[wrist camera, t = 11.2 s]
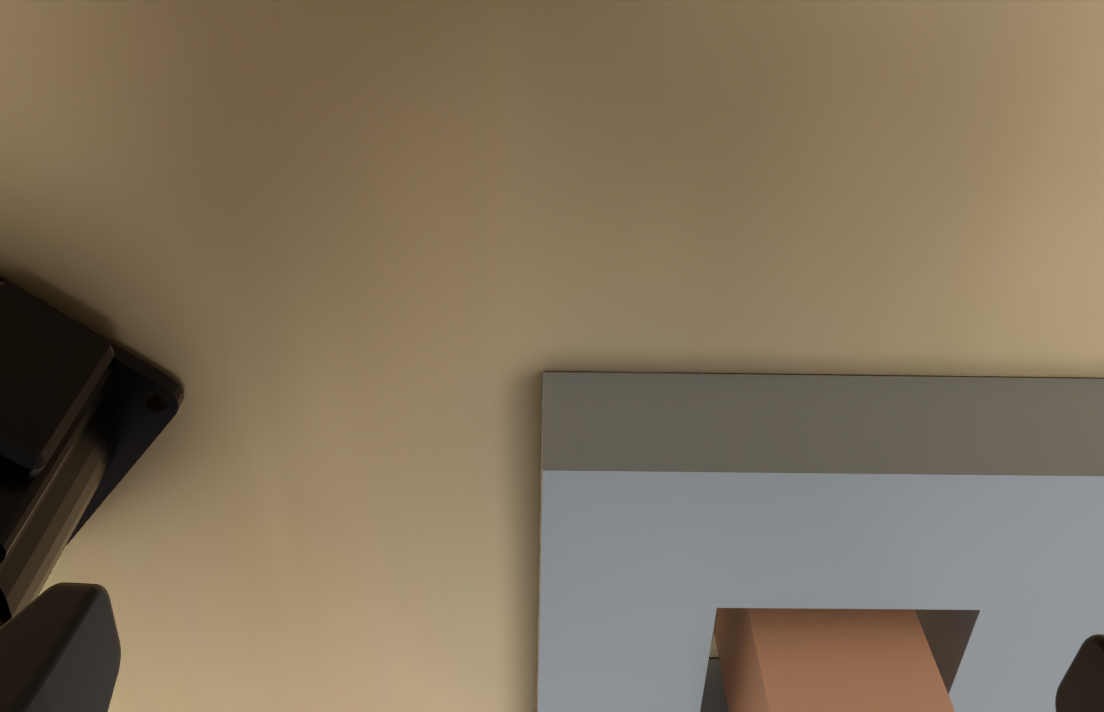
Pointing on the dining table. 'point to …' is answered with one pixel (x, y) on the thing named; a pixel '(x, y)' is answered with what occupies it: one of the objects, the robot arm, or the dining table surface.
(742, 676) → the peg
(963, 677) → the socket block
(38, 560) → the robot arm
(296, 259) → the dining table surface
